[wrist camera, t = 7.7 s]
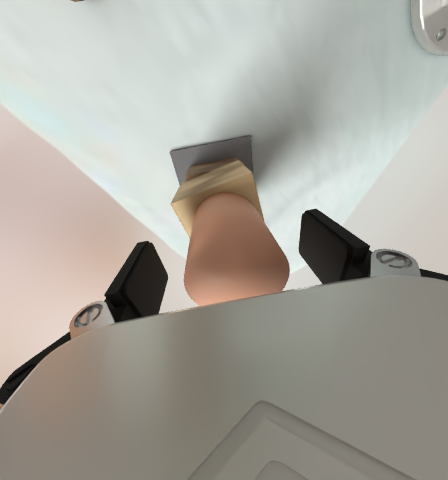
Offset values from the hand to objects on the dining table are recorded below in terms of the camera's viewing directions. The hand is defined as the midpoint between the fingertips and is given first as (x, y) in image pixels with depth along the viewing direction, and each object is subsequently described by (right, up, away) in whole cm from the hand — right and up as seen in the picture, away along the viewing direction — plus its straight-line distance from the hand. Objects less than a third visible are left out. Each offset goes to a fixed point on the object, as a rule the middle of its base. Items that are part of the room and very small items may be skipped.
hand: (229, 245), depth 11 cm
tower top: (-1, +5, +7) cm, 9 cm away
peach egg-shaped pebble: (0, +2, +2) cm, 3 cm away
